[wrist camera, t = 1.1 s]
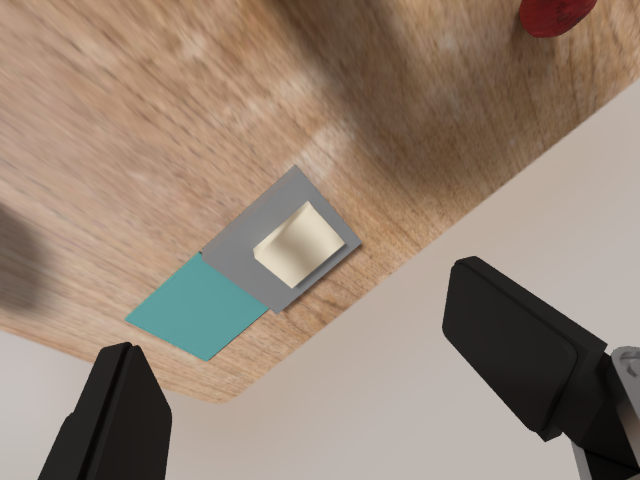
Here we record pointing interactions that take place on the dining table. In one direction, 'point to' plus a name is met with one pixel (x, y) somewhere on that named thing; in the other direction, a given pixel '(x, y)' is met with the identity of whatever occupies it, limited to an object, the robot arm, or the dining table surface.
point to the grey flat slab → (260, 221)
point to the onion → (552, 15)
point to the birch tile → (298, 245)
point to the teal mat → (197, 310)
